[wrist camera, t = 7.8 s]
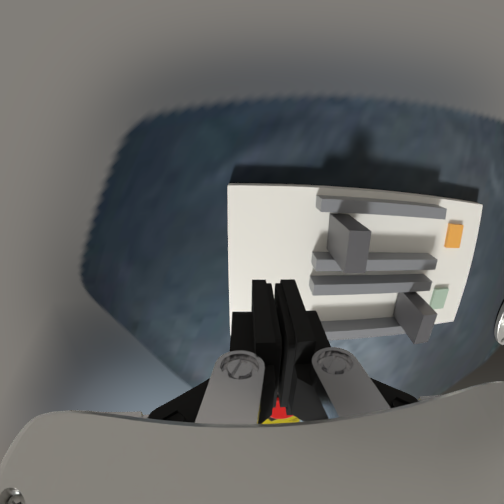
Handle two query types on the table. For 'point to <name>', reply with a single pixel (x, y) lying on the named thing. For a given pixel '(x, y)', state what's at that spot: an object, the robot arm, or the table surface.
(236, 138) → the table surface
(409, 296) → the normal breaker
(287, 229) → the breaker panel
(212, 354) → the table surface
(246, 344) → the robot arm
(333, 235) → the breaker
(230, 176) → the table surface
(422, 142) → the table surface
